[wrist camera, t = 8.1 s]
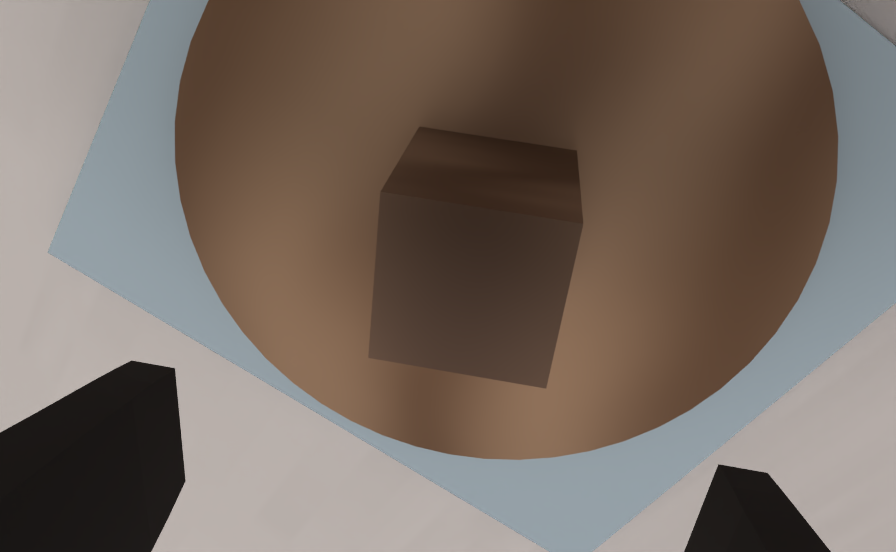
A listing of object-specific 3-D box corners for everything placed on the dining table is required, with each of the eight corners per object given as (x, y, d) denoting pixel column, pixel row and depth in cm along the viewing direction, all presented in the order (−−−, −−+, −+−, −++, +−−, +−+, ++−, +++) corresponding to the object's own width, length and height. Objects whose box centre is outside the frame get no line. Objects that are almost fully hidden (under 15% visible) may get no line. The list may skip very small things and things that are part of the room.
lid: (954, -115, 13) (1136, -121, 9) (713, 487, 20) (753, 634, 16) (161, -213, 14) (0, -261, 10) (202, 395, 21) (118, 513, 17)
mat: (1035, 165, 15) (1052, 174, 15) (573, 550, 23) (574, 566, 22) (331, -410, 13) (321, -424, 12) (61, 243, 20) (47, 252, 19)
